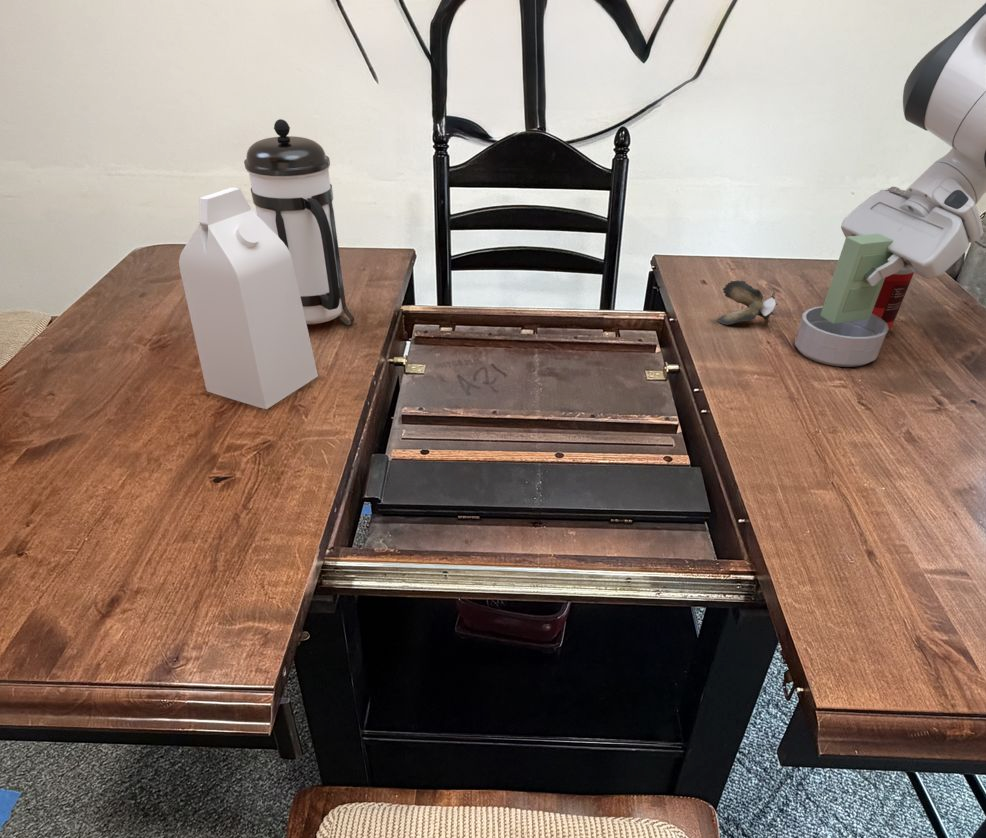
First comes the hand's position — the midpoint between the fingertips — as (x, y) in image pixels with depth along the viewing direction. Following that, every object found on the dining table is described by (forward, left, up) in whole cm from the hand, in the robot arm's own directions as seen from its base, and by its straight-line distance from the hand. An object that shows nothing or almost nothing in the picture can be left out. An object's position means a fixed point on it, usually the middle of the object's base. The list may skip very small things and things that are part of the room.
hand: (856, 276), depth 111 cm
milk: (+84, +39, -12) cm, 94 cm away
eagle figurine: (+14, -8, -12) cm, 21 cm away
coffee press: (+87, +15, -12) cm, 89 cm away
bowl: (-1, 0, -12) cm, 12 cm away
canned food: (-7, -12, -12) cm, 18 cm away
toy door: (0, 0, -6) cm, 7 cm away
